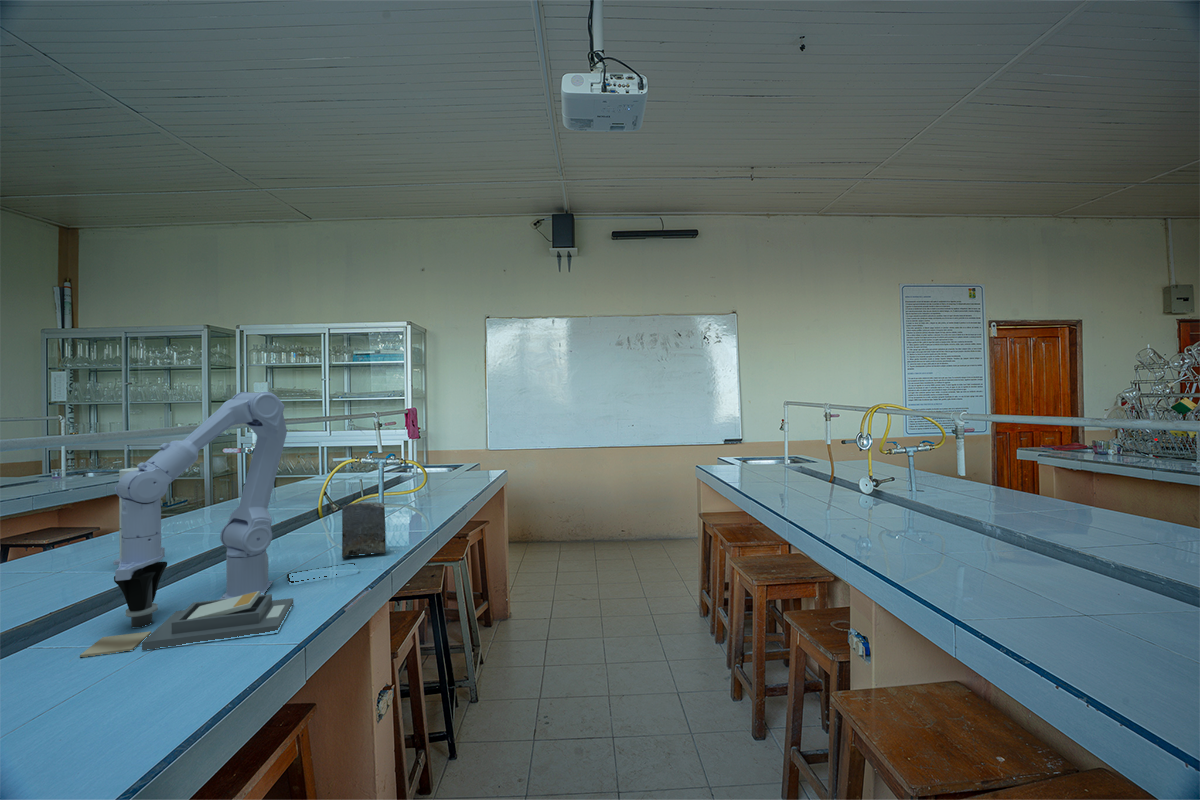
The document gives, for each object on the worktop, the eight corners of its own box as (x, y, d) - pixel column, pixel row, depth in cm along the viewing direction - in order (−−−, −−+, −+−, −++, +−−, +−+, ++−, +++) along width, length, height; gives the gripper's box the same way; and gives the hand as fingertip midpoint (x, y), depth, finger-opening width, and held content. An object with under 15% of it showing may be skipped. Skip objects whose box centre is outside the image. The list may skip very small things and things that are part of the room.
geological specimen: (385, 551, 149) (385, 497, 149) (385, 557, 143) (385, 501, 143) (342, 555, 145) (342, 500, 144) (341, 562, 139) (341, 504, 139)
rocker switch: (200, 610, 102) (199, 605, 102) (260, 594, 105) (259, 590, 105) (186, 624, 95) (185, 620, 95) (250, 607, 98) (249, 603, 98)
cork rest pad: (102, 639, 94) (102, 637, 94) (151, 634, 97) (151, 631, 97) (79, 658, 88) (79, 655, 88) (132, 651, 90) (132, 648, 90)
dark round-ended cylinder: (132, 621, 102) (132, 574, 102) (162, 618, 104) (161, 571, 104) (120, 631, 98) (120, 582, 98) (151, 627, 99) (151, 579, 99)
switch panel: (176, 618, 103) (176, 600, 103) (293, 605, 110) (293, 588, 110) (141, 651, 90) (141, 630, 90) (277, 633, 97) (277, 614, 97)
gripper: (134, 527, 106) (134, 595, 106) (93, 546, 92) (93, 624, 93) (176, 524, 109) (177, 591, 109) (143, 542, 95) (143, 619, 95)
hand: (141, 606), depth 101 cm, fingers closed on dark round-ended cylinder, 3 cm apart
